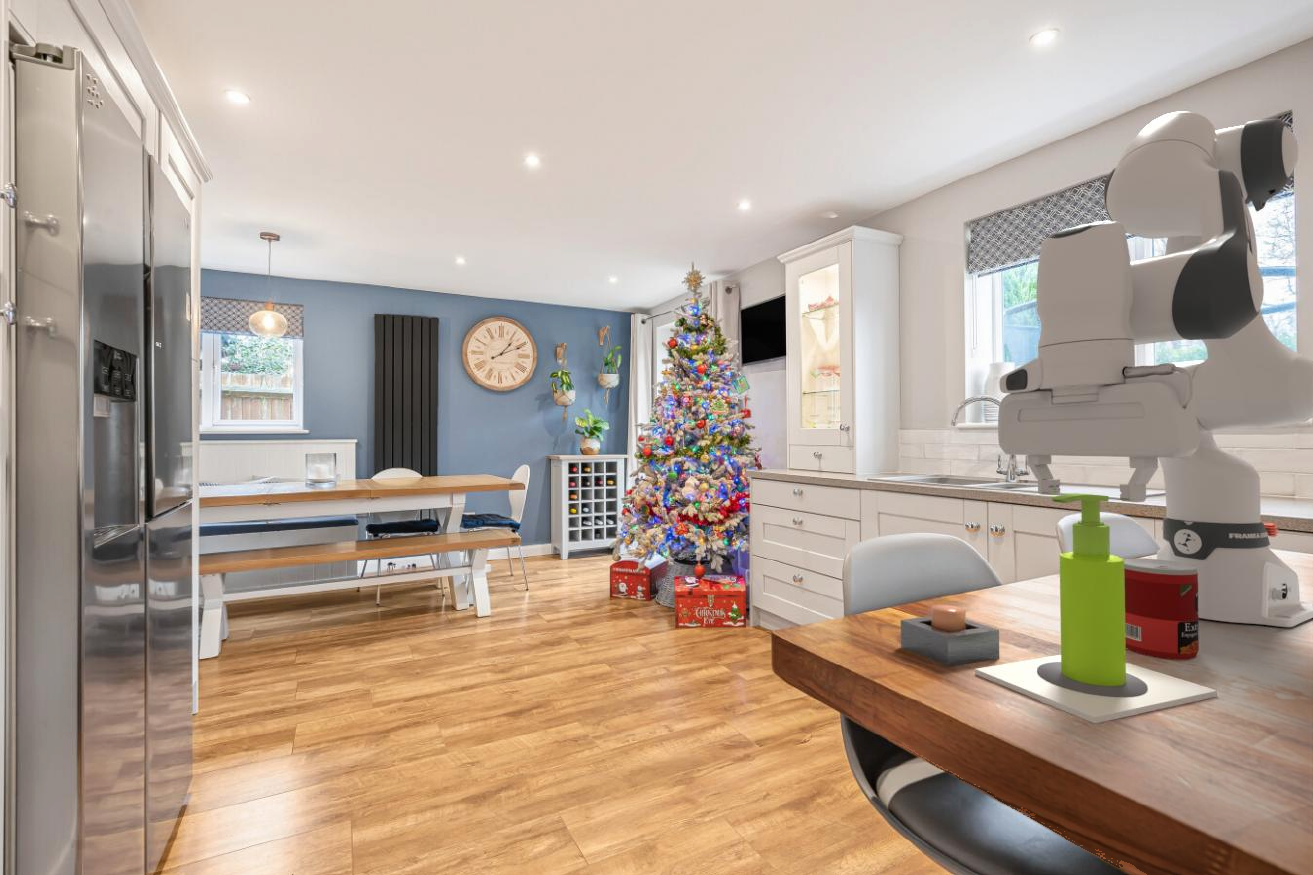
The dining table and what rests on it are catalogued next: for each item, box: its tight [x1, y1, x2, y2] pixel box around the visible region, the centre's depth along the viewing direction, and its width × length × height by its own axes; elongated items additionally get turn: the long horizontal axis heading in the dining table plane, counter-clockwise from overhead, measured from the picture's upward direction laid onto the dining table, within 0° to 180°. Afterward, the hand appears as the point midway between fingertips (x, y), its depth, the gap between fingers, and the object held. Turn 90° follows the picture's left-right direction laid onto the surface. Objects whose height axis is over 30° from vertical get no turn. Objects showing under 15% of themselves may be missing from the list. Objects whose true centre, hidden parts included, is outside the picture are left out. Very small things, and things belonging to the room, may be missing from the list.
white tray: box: [974, 654, 1218, 725], centre depth 70 cm, size 18×14×1 cm
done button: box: [930, 604, 967, 632], centre depth 82 cm, size 4×4×3 cm
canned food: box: [1123, 557, 1200, 661], centre depth 82 cm, size 8×8×11 cm
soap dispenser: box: [1050, 492, 1127, 686], centre depth 71 cm, size 6×7×20 cm
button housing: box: [900, 615, 1000, 668], centre depth 82 cm, size 8×8×4 cm
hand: (1088, 497), depth 71 cm, fingers open, 8 cm apart
